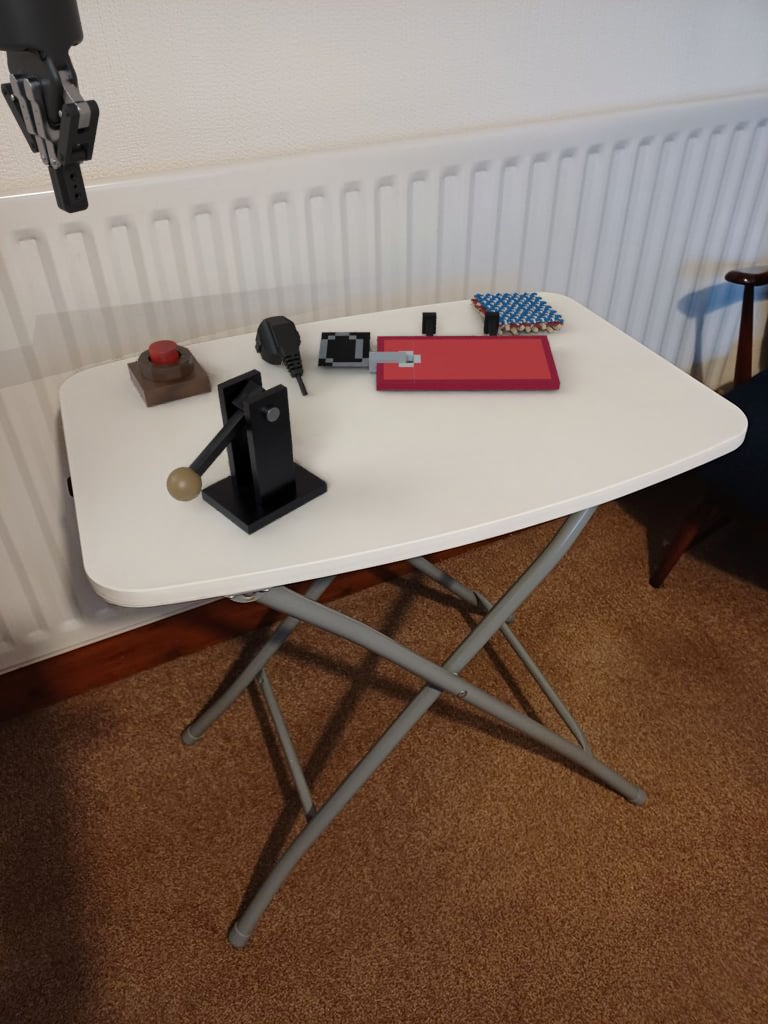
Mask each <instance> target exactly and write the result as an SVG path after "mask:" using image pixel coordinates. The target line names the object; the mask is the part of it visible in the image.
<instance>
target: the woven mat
mask: <svg viewBox="0 0 768 1024" xmlns="http://www.w3.org/2000/svg"><path fill="white" fill-rule="evenodd" d="M473 297H474V298H470V302H471V306H472V307H473V308H474V309H476V310H477V312H478V313H479V315H480V316H481V317H482V318H483V319H484V318H485V312H499V315H500V317H499V326H498V334H497V335H498V336H502V334H503V331H502V329H503V330H504V331H505V332H509V331H511V332H512V335H517V334H518V332H523V331H524V330H525V332H526V333H530V332H531V331H532V332H533V333H538V332H539V329H540V330H542V331H545V330H546V331H547V332H548V333H549V334H551V333H553V332H554V331H553V329H554V330H556V331H558V330H561V328H562V326H563V325H564V322H565V321H564V319H563V318H562V317H563V315H561V314H557V312H558V311H557V310H556V309H552V307H553V306H551V305H547V304H548V301H545V300H543V297H541V296H538V292H526V291H525V292H524V291H523V292H522V293H517V292H511V293H508V292H505V293H502V292H501V293H500V292H496V293H492V294H491V293H489V292H486V293H482V294H481V293H479V292H478V293H476V294H474V295H473Z"/></svg>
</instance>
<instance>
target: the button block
mask: <svg viewBox="0 0 768 1024" xmlns="http://www.w3.org/2000/svg"><path fill="white" fill-rule="evenodd" d="M177 347H178V352H179V359H178V360H177V361H175V362H172V363H168V364H155V363H152V362H151V358H150V353H149V348H147V349H145V350H144V351H142V352H141V353H140V354H139V356H138V358H137V360H136V361H132V362H128V363H127V364H126V365H127V369H128V374H129V379H130V380H131V382H132V384H133V386H134V387H135V389H136V391H137V392H138V394H139V396H140V397H141V399H142V401H143V403H144V404H145V406H146V407H147V408H151V407H154V406H159V405H163V404H166V403H170V402H175V401H179V400H182V399H187V398H190V397H191V398H192V397H195V396H198V395H202V394H206V393H210V392H212V388H211V387H212V386H211V382H210V375H208V373H207V371H206V370H205V369H204V368H203V367H202V365H201V364H200V362H199V361H198V360H197V359H196V357H195V356H194V354H193V353H192V352H191V350H190V349H189V348H188V347H186V346H182V345H179V344H177Z"/></svg>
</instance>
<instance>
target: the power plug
mask: <svg viewBox="0 0 768 1024" xmlns="http://www.w3.org/2000/svg"><path fill="white" fill-rule="evenodd" d="M254 341H255V345H254V349H255V352H256V354H260V357H261V360H263V361H264V362H265V363H267V364H270V365H273V366H282V364H283V366H285V368H286V370H287V372H288V373H289V374H290V378H292V379H296V381H297V384H298V387H299V389H300V393H301V395H302V396H304V397H306V396H307V395H308V394H309V393H308V390H307V387H306V385H305V383H304V380H303V376H304V373H305V372H304V367H303V361H302V356H301V351H300V347H301V344H302V340H301V334H300V332H299V331H298V330H297V327H296V324H295V322H294V321H292V320H291V319H290V318H288V317H286V316H284V315H274V316H269V317H266V318H264V319H262V321H260V323H259V325H258V327H257V329H256V334H255V340H254Z"/></svg>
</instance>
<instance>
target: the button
mask: <svg viewBox="0 0 768 1024" xmlns="http://www.w3.org/2000/svg"><path fill="white" fill-rule="evenodd" d="M177 345H178V343H177V342H176V341H174V340H171V339H161V340H155V341H154V342H152V343H150V344H149V345H148V349H149V353H150V358H151V362H152V363H155V364H168V363H172V362H175V361H177V360H178V359H179V352H178V347H177Z"/></svg>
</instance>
